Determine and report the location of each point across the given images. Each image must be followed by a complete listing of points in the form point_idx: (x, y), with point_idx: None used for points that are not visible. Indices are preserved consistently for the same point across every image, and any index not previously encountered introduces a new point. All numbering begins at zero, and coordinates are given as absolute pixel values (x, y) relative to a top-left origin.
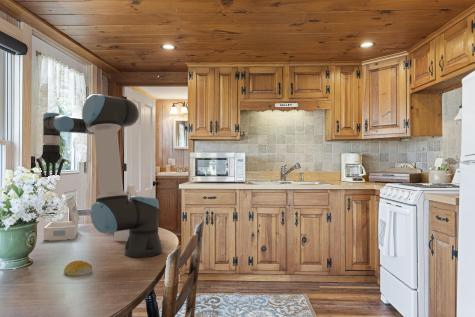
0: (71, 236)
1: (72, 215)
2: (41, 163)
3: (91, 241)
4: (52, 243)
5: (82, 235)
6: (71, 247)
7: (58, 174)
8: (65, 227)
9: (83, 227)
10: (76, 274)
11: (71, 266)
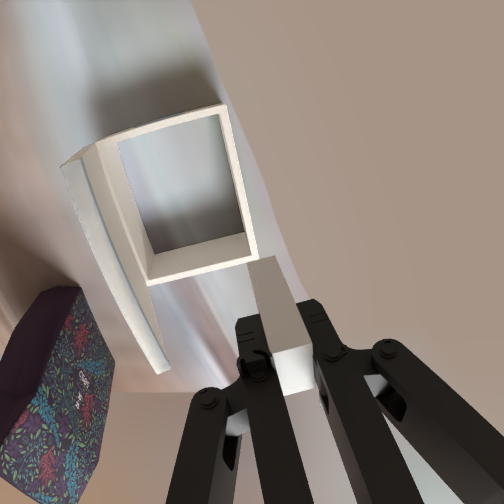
0: (115, 133)
1: (81, 150)
2: (495, 497)
3: (36, 108)
4: (165, 57)
5: None
6: (73, 9)
7: (193, 433)
8: (129, 130)
9: (179, 345)
10: None
11: None
